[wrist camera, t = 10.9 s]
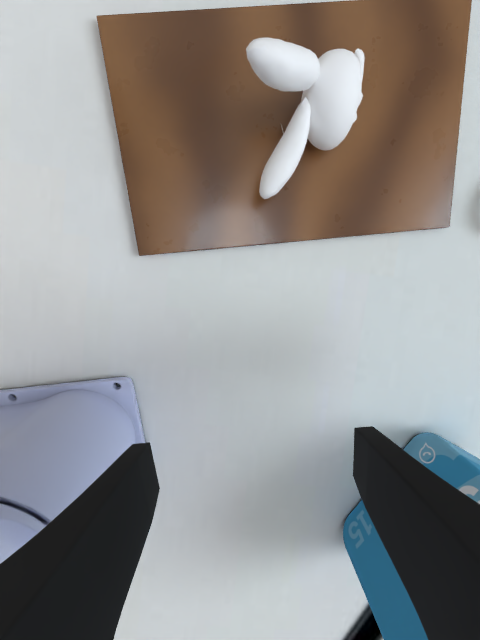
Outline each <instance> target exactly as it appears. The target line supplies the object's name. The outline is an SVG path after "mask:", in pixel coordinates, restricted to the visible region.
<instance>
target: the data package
mask: <svg viewBox="0 0 480 640" xmlns="http://www.w3.org/2000/svg"><path fill="white" fill-rule="evenodd" d="M403 450H404V451H405V452H407V453H408V454H409V455H411V456H412V457H413V458H415V459H416V460H417V461H419V462H420V463H421V464H423V465H424V466H425V467H427V468H428V469H429V470H431V471H432V472H434V473H435V474H436V475H438V476H439V477H441V478H442V479H443V480H445V481H446V482H448V483H449V484H451V485H452V486H453V487H455V488H456V489H458V490H459V491H461V492H462V493H464V494H465V495H467V496H468V497H470V498H471V499H473V500H474V501H476V502H477V503H479V504H480V459H478V458H477V457H475V456H473V455H472V454H470V453H468V452H466V451H465V450H463V449H461V448H459V447H458V446H456V445H454V444H452V443H451V442H449V441H447V440H445V439H444V438H442V437H440V436H438V435H436V434H433V433H421V434H419V435H417V436H415V437H414V438H413V439H412V440H411V441H410V442H409V443H408V445H407V446H406V447H405V448H404V449H403ZM343 538H344V544H345V547H346V549H347V552H348V554H349V557H350V559H351V561H352V564H353V566H354V569H355V571H356V574H357V576H358V578H359V581H360V583H361V586H362V588H363V590H364V593H365V595H366V598H367V600H368V602H369V605H370V607H371V610H372V612H373V615H374V617H375V619H376V622H377V624H378V627H379V629H380V631H381V634H382V636H383V639H384V640H428V638H427V635H426V633H425V631H424V628H423V626H422V623H421V621H420V619H419V616H418V614H417V612H416V610H415V608H414V605H413V603H412V601H411V599H410V597H409V595H408V593H407V590H406V589H405V587H404V585H403V583H402V581H401V579H400V577H399V575H398V573H397V571H396V569H395V567H394V565H393V563H392V561H391V559H390V557H389V555H388V553H387V551H386V549H385V547H384V545H383V543H382V541H381V539H380V537H379V535H378V533H377V531H376V529H375V527H374V525H373V523H372V521H371V519H370V517H369V514H368V512H367V510H366V508H365V506H364V503H363V501H362V500H361V501H360V502H359V504H358V505H357V506H356V507H355V508H354V510H353V511H352V512H351V513H350V514H349V516H348V517H347V519H346V521H345V524H344V529H343Z"/></svg>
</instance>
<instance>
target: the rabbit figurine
mask: <svg viewBox="0 0 480 640" xmlns="http://www.w3.org/2000/svg"><path fill="white" fill-rule="evenodd" d="M246 53H247V59H248V61H249V63H250V65H251V67H252V69H253V70H254V72H255V73H256V75H257V76H258V77H259V78H260V80H261V81H263V82H264V83H265V84H266V85H268V86H270V87H272V88H274V89H278V90H280V91H303V94H302V98H301V103H300V104H299V105H298V107H297V109H296V111H295V113H294V115H293V117H292V118H291V120H290V122H289V124H288V126H287V128H286V130H285V132H283V136H282V138H281V139H280V141H279V143H278V144H277V146H276V148H275V149H274V151H273V153H272V154H271V156H270V158H269V160H268V161H267V163H266V165H265V167H264V170H263V172H262V175H261V180H260V188H259V193H260V196H261V197H262V198H263V199H268V198H270V197H271V196H274V195H276V194H277V193H278V192H279V191H280V190H281V189H282V187H283V186H284V185H285V184H286V182H287V181H288V180H289V179H290V177H291V176H292V174H293V173H294V171H295V169H296V167H297V165H298V163H299V161H300V159H301V156H302V154H303V151H304V148H305V145H306V142H307V139H308V140H309V141H310V142H311V144H312V145H313V146H315V147H316V148H318V149H320V150H331V149H333V148H335V147H337V146H338V145H339V144H340V143H341V142H342V141H343V140H344V139H345V137H346V136H347V134H348V132H349V130H350V128H351V126H352V124H353V123H354V122H355V121H356V119H357V113H356V112H357V108H358V106H359V105H360V103H361V100H362V97H363V94H362V92H361V89H362V79H363V71H364V59H365V57H364V53H363V51H362V50H360V49H356V50H355V54H354V53H353V52H351V51H349V50H346V49H334V50H330V51H327V52H326V53H324V54H323V55H322V56H321V57H320V58H319V59H318V58H317V56H316V54H315V53H313V52H312V51H311V50H310V49H306V48H304V47H302V46H300V45H296V44H293V43H290V42H285V41H283V40H280V39H273V38H258V39H254V40H253V41H252V42H250V43H249V45H248V46H247V48H246ZM281 128H282V125H281ZM282 131H283V128H282Z"/></svg>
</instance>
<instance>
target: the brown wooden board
mask: <svg viewBox="0 0 480 640" xmlns="http://www.w3.org/2000/svg"><path fill="white" fill-rule="evenodd" d="M471 2H472V0H354V1H337V2H320V3H303V4H286V5H269V6H253V7H236V8H219V9H202V10H185V11H168V12H152V13H135V14H118V15H101V16H97V21H98V27H99V33H100V38H101V44H102V50H103V55H104V61H105V66H106V72H107V78H108V83H109V89H110V94H111V100H112V106H113V111H114V117H115V123H116V128H117V134H118V139H119V145H120V151H121V156H122V162H123V167H124V173H125V179H126V184H127V190H128V196H129V201H130V207H131V212H132V218H133V224H134V229H135V235H136V240H137V246H138V252H139V255H140V256H143V255H153V254H164V253H175V252H186V251H197V250H208V249H218V248H229V247H240V246H251V245H262V244H273V243H284V242H294V241H305V240H316V239H327V238H338V237H349V236H359V235H370V234H381V233H392V232H403V231H414V230H425V229H435V228H446V227H449V226H450V216H451V206H452V195H453V185H454V175H455V165H456V155H457V144H458V134H459V124H460V114H461V104H462V94H463V83H464V73H465V63H466V53H467V43H468V32H469V22H470V12H471ZM258 38H273V39H280V40H283V41H285V42H290V43H293V44H296V45H300V46H302V47H304V48H306V49H310V50H311V51H312V52H313V53H315V54H316V56H317V58H318V59H319V58H320V57H321V56H322V55H323V54H324V53H326V52H327V51H330V50H334V49H346V50H349V51H351V52H353V53H354V54H355V50H356V49H360V50H362V51H363V53H364V57H365V59H364V71H363V79H362V89H361V92H362V94H363V97H362V100H361V103H360V105H359V106H358V108H357V112H356V113H357V119H356V121H355V122H354V123H353V124H352V126H351V128H350V130H349V132H348V134H347V136H346V137H345V139H344V140H343V141H342V142H341V143H340V144H339V145H338V146H337V147H335V148H333V149H331V150H320V149H318V148H316V147H315V146H313V145H312V144H311V142H310V141H309V140H308V139H307V142H306V145H305V148H304V151H303V154H302V156H301V159H300V161H299V163H298V165H297V167H296V169H295V171H294V173H293V174H292V176H291V177H290V179H289V180H288V181H287V182H286V184H285V185H284V186H283V187H282V189H281V190H280V191H279V192H278V193H277V194H276V195H274V196H271V197H270V198H268V199H263V198H262V197H261V196H260V193H259V188H260V180H261V175H262V172H263V170H264V167H265V165H266V163H267V161H268V160H269V158H270V156H271V154H272V153H273V151H274V149H275V148H276V146H277V144H278V143H279V141H280V139H281V138H282V136H283V132H285V130H286V128H287V126H288V124H289V122H290V120H291V118H292V117H293V115H294V113H295V111H296V109H297V107H298V105H299V104H300V103H301V98H302V94H303V91H280V90H278V89H274V88H272V87H270V86H268V85H266V84H265V83H264V82H263V81H261V80H260V78H259V77H258V76H257V75H256V73H255V72H254V70H253V69H252V67H251V65H250V63H249V61H248V59H247V53H246V48H247V46H248V45H249V43H250V42H252V41H253V40H254V39H258ZM281 125H282V128H283V131H282V128H281Z"/></svg>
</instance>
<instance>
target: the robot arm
mask: <svg viewBox="0 0 480 640" xmlns="http://www.w3.org/2000/svg"><path fill="white" fill-rule="evenodd" d="M115 383H119V384H120V386H121V387H117V386H116V385H115ZM13 394H14V395H15V396H16V397H17V398H15V397H14V396H13ZM353 477H354V479H355V482H356V485H357V487H358V490H359V493H360V496H361V498H362V501H363V503H364V506H365V508H366V510H367V512H368V514H369V517H370V519H371V521H372V523H373V525H374V527H375V529H376V531H377V533H378V535H379V537H380V539H381V541H382V543H383V545H384V547H385V549H386V551H387V553H388V555H389V557H390V559H391V561H392V563H393V565H394V567H395V569H396V571H397V573H398V575H399V577H400V579H401V581H402V583H403V585H404V587H405V589H406V590H407V593H408V595H409V597H410V599H411V601H412V603H413V605H414V608H415V610H416V612H417V614H418V616H419V619H420V621H421V623H422V626H423V628H424V631H425V633H426V635H427V638H428V640H480V504H479V503H477V502H476V501H474V500H473V499H471V498H470V497H468V496H467V495H465V494H464V493H462V492H461V491H459V490H458V489H456V488H455V487H453V486H452V485H451V484H449V483H448V482H446V481H445V480H443V479H442V478H441V477H439V476H438V475H436V474H435V473H434V472H432V471H431V470H429V469H428V468H427V467H425V466H424V465H423V464H421V463H420V462H419V461H417V460H416V459H415V458H413V457H412V456H411V455H409V454H408V453H407V452H405V451H404V450H403V449H401V448H400V447H399V446H397V445H396V444H395V443H394V442H392V441H391V440H390V439H388V438H387V437H386V436H384V435H383V434H382V433H381V432H379V431H378V430H376V429H375V428H374V427H359V428H355V431H354V462H353ZM159 489H160V488H159V483H158V479H157V474H156V469H155V465H154V460H153V455H152V451H151V446H150V443H145V438H144V433H143V428H142V423H141V418H140V414H139V409H138V404H137V399H136V394H135V389H134V385H133V381H132V379H131V378H129V377H116V378H107V379H98V380H88V381H79V382H70V383H61V384H51V385H42V386H33V387H24V388H15V389H5V390H0V640H113V639H114V635H115V631H116V628H117V625H118V621H119V618H120V615H121V612H122V608H123V605H124V603H125V600H126V597H127V594H128V591H129V588H130V585H131V582H132V579H133V576H134V573H135V571H136V568H137V565H138V562H139V559H140V556H141V553H142V550H143V547H144V544H145V541H146V538H147V535H148V532H149V529H150V526H151V523H152V520H153V516H154V511H155V507H156V503H157V498H158V493H159Z"/></svg>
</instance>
